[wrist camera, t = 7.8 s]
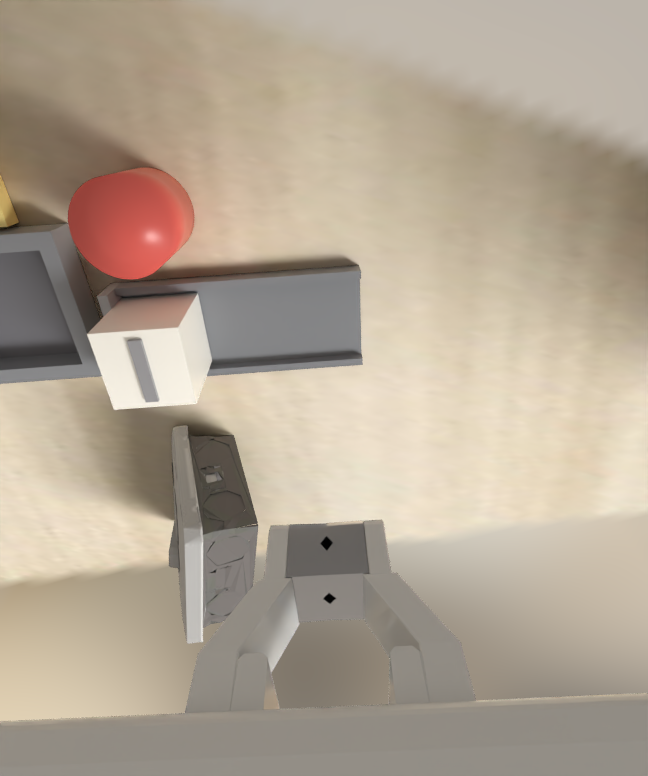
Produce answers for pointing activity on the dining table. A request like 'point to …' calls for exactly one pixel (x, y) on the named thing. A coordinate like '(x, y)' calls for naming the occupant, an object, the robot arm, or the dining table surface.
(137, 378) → the white slotted block
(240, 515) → the electrical switch
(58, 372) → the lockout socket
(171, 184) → the cap
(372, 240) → the dining table surface
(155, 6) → the dining table surface
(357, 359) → the rail
